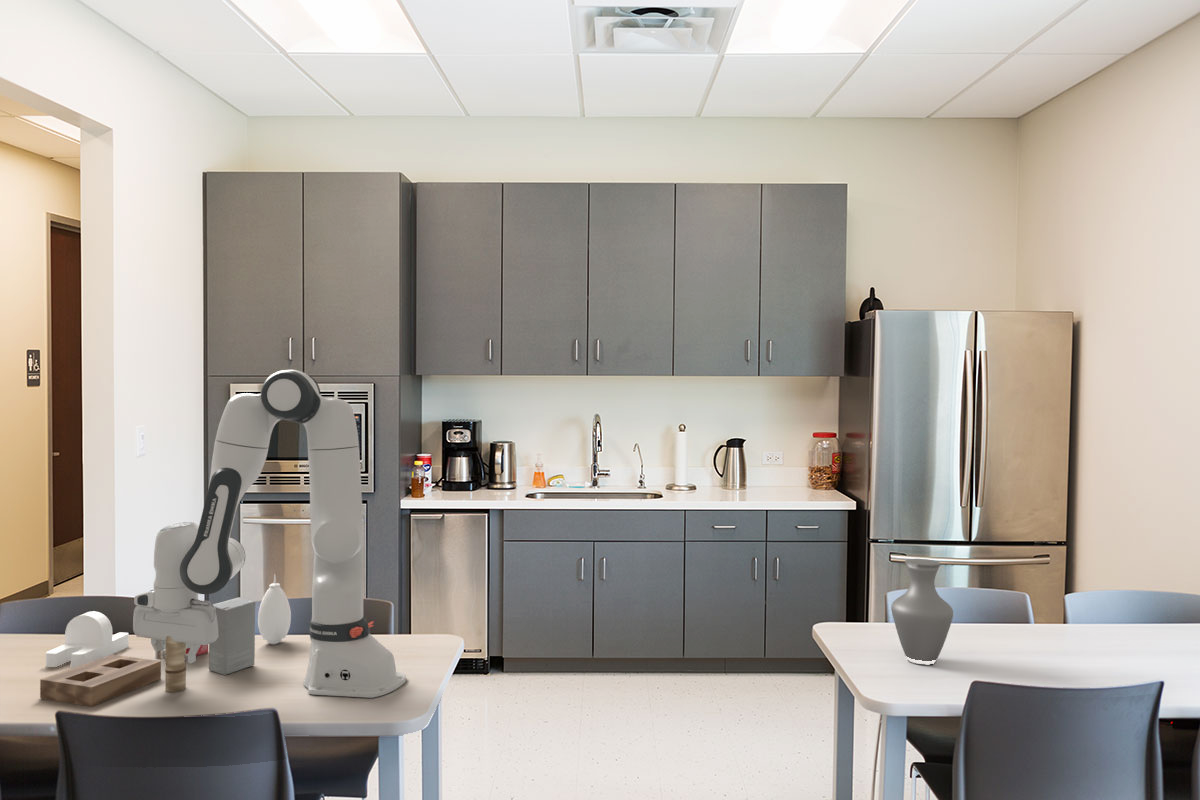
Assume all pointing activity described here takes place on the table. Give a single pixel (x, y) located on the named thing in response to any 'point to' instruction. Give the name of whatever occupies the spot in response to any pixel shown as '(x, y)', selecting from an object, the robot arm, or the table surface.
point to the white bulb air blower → (274, 614)
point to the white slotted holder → (87, 641)
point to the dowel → (175, 666)
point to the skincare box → (233, 636)
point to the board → (100, 680)
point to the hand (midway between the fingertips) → (175, 660)
